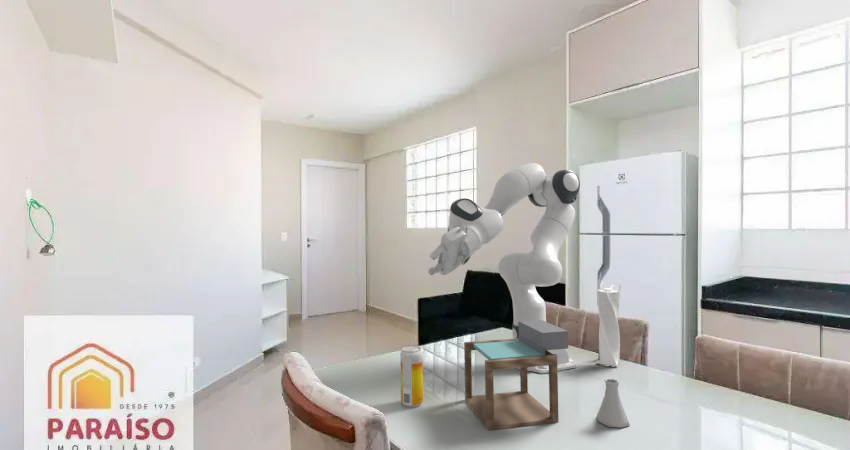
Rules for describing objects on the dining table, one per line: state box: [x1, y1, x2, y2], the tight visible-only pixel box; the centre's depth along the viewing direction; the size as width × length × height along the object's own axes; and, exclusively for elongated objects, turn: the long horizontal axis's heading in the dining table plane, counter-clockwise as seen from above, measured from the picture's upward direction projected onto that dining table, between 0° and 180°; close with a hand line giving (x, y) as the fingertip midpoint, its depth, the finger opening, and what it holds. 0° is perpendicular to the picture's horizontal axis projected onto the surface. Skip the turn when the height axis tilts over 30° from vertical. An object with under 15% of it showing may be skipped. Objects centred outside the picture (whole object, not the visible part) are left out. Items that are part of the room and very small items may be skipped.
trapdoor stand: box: [463, 338, 559, 431], centre depth 107 cm, size 18×18×16 cm
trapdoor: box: [473, 320, 569, 360], centre depth 107 cm, size 20×14×6 cm
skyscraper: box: [595, 283, 622, 367], centre depth 142 cm, size 8×8×28 cm
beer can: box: [400, 345, 424, 408], centre depth 111 cm, size 6×6×15 cm
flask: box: [596, 378, 631, 429], centre depth 99 cm, size 7×7×10 cm
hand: (430, 265), depth 124 cm, fingers open, 8 cm apart
